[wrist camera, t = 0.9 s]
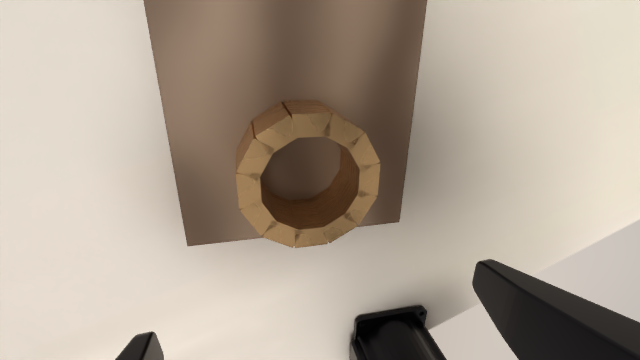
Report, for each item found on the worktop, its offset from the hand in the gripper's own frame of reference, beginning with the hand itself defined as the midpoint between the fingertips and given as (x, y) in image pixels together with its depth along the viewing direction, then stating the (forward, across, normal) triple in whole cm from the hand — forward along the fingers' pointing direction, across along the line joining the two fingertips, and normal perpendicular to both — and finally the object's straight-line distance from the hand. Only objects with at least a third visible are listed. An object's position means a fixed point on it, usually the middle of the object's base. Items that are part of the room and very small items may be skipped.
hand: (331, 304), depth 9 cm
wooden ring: (+12, -1, 0) cm, 12 cm away
